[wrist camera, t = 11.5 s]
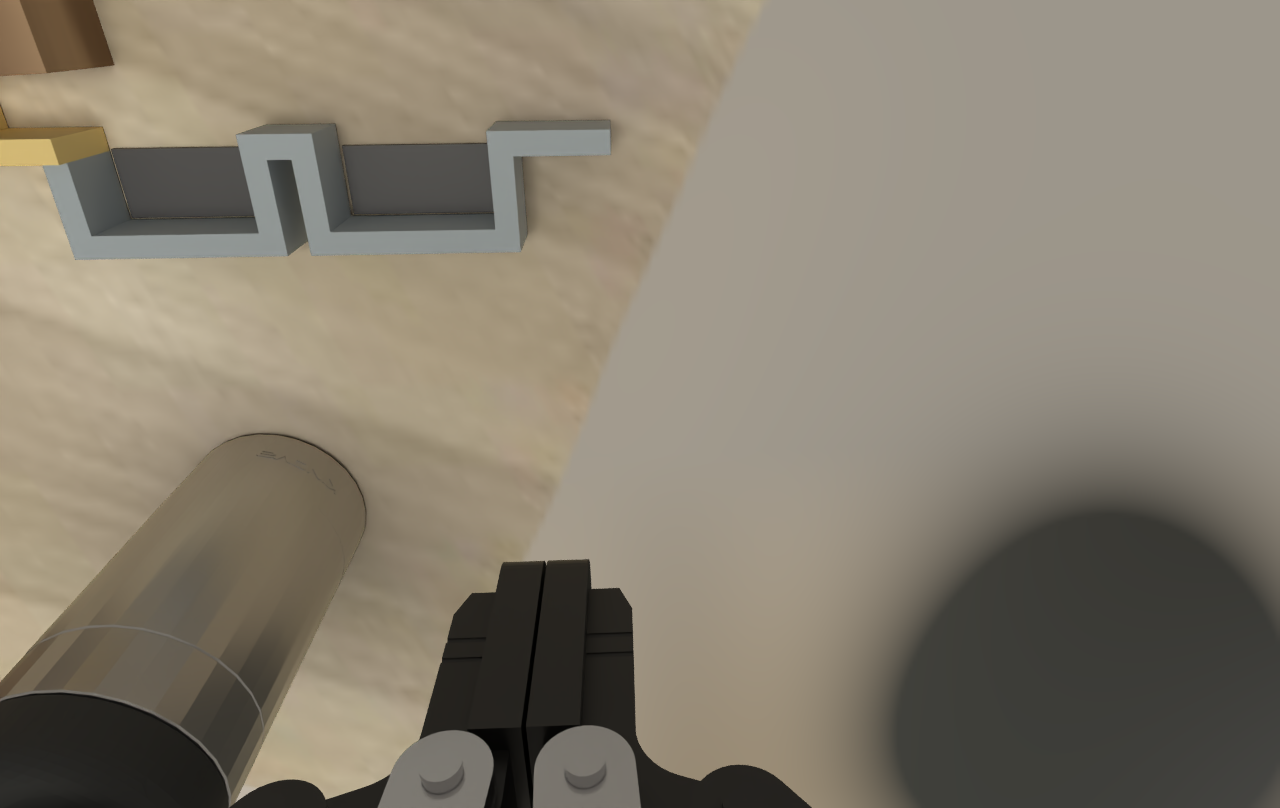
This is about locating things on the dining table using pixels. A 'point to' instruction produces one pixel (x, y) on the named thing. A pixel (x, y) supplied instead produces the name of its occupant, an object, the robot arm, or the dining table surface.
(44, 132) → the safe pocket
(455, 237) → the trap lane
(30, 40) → the walnut block
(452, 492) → the dining table surface
